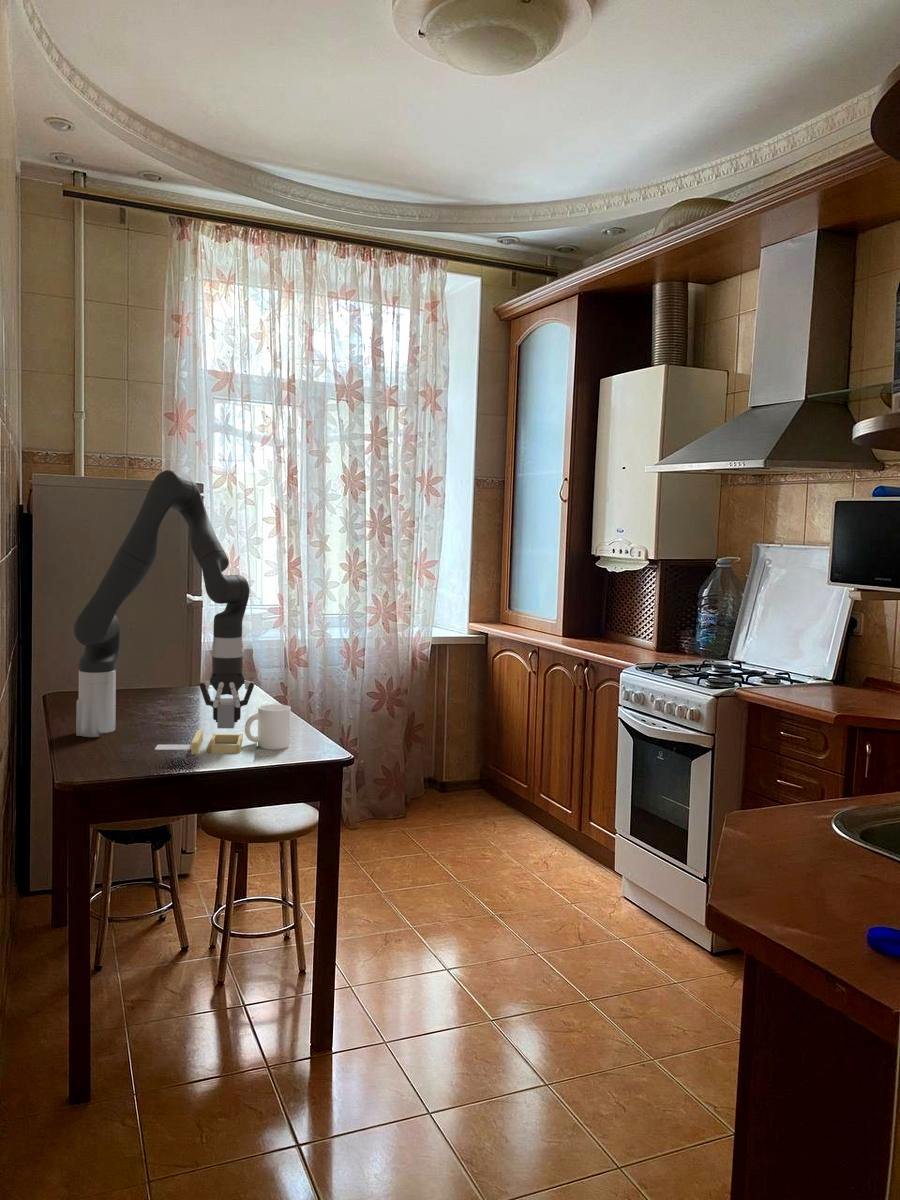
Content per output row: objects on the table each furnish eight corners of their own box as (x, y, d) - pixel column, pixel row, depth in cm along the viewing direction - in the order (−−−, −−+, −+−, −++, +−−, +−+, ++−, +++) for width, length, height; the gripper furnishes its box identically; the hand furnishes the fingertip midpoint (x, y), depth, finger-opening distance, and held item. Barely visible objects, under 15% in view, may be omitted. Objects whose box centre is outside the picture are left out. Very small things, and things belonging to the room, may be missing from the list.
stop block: (219, 721, 239) (220, 698, 239) (235, 721, 240) (236, 698, 239) (217, 728, 231) (217, 704, 231) (233, 728, 232) (234, 704, 231)
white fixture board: (151, 758, 226) (151, 743, 226) (160, 744, 240) (160, 730, 240) (244, 758, 230) (244, 743, 230) (247, 744, 244) (247, 730, 243)
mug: (249, 753, 235) (250, 712, 234) (239, 745, 242) (239, 706, 241) (294, 748, 241) (295, 709, 240) (283, 741, 248) (283, 703, 247)
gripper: (257, 652, 239) (256, 718, 240) (199, 652, 237) (199, 718, 238) (255, 656, 231) (254, 725, 233) (196, 656, 229) (196, 725, 231)
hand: (226, 721), depth 235 cm, fingers closed on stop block, 4 cm apart
